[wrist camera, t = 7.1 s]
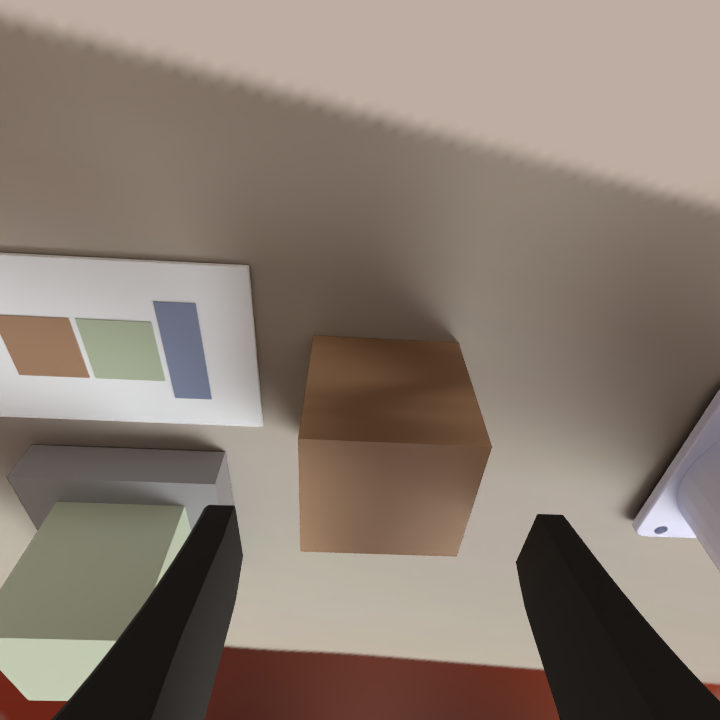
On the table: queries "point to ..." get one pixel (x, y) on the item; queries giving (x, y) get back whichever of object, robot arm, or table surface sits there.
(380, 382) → the block
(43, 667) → the block
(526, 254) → the table surface
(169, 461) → the slab
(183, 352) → the blueprint sheet
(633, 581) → the table surface
